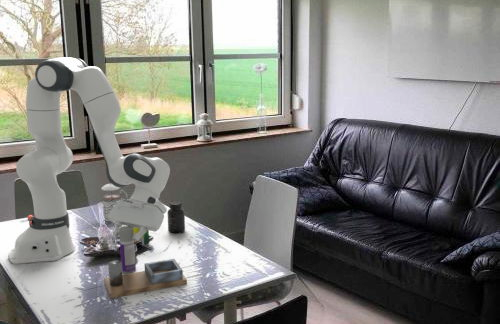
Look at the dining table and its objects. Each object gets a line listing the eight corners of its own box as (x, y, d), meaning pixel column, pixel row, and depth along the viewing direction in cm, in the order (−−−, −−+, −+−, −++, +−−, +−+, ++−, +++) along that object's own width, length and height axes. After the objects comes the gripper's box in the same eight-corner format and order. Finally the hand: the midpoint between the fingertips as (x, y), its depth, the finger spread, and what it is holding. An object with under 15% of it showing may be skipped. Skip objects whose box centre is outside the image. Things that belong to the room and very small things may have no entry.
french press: (103, 214, 238) (99, 159, 233) (129, 213, 240) (126, 159, 234) (99, 221, 229) (95, 165, 223) (127, 220, 230) (123, 164, 224)
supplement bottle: (188, 232, 216) (187, 203, 213) (172, 235, 212) (171, 206, 209) (180, 227, 221) (179, 199, 219) (165, 230, 218) (164, 202, 215)
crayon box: (149, 243, 204) (148, 214, 201) (143, 245, 202) (142, 216, 199) (137, 239, 209) (135, 210, 206) (131, 241, 206) (129, 212, 204)
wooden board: (110, 298, 161) (109, 284, 160) (104, 282, 171) (103, 269, 170) (186, 283, 170) (186, 270, 169) (176, 269, 181) (176, 257, 180)
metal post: (111, 287, 164) (109, 266, 163) (109, 282, 168) (107, 261, 166) (124, 285, 166) (122, 264, 164) (121, 280, 169) (120, 259, 168)
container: (120, 268, 181) (117, 227, 178) (134, 266, 183) (131, 225, 180) (123, 274, 177) (120, 231, 174) (137, 271, 179) (134, 229, 176)
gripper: (115, 193, 186) (96, 228, 180) (162, 201, 176) (144, 238, 170) (124, 201, 191) (107, 236, 184) (171, 210, 181) (154, 247, 175)
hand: (125, 237), depth 177 cm, fingers open, 7 cm apart
